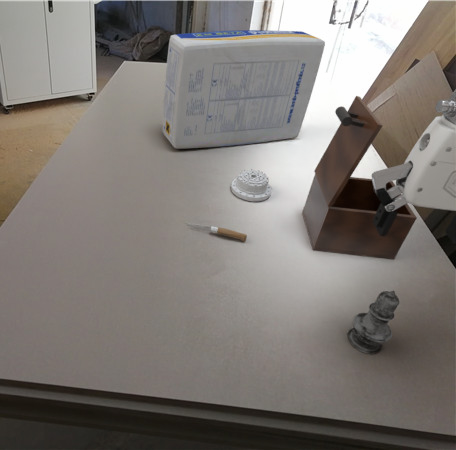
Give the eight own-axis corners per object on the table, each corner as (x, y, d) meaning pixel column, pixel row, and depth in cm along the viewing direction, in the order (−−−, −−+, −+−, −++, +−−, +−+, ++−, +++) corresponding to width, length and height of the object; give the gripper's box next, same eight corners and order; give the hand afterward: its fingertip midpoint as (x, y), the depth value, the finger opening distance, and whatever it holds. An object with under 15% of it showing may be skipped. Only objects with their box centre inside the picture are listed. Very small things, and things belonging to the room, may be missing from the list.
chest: (373, 220, 95) (392, 181, 88) (394, 259, 84) (417, 217, 77) (302, 212, 96) (315, 173, 89) (312, 250, 85) (328, 208, 78)
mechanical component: (246, 176, 108) (222, 189, 102) (249, 162, 105) (225, 174, 99) (278, 192, 102) (254, 207, 96) (282, 177, 99) (258, 191, 94)
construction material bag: (280, 124, 136) (305, 27, 118) (300, 139, 127) (329, 37, 109) (160, 136, 124) (166, 31, 106) (172, 153, 116) (181, 42, 98)
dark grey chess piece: (376, 362, 64) (408, 312, 57) (340, 340, 67) (366, 290, 60) (388, 340, 67) (420, 290, 60) (353, 320, 70) (380, 271, 63)
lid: (360, 96, 78) (336, 90, 78) (382, 125, 67) (355, 118, 67) (317, 172, 89) (296, 166, 89) (331, 207, 78) (307, 200, 78)
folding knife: (183, 229, 88) (184, 221, 87) (185, 225, 90) (186, 217, 88) (244, 244, 85) (246, 236, 84) (245, 239, 87) (247, 232, 85)
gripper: (417, 119, 42) (358, 244, 53) (592, 137, 41) (496, 261, 52) (393, 95, 48) (344, 211, 59) (545, 110, 47) (467, 225, 58)
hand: (415, 234), depth 55 cm, fingers open, 9 cm apart
